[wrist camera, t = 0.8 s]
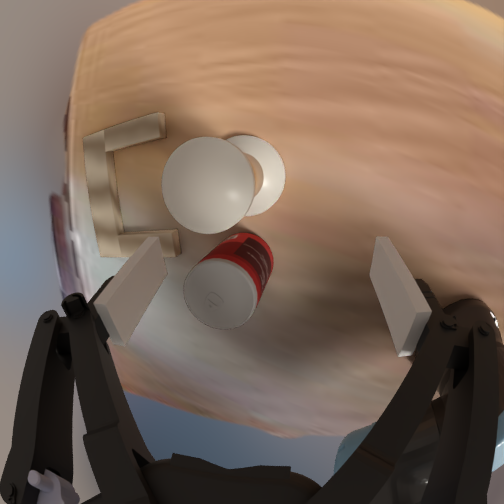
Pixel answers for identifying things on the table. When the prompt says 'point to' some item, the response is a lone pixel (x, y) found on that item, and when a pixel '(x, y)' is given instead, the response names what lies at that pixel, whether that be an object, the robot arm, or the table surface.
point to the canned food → (229, 281)
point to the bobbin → (221, 181)
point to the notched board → (105, 187)
